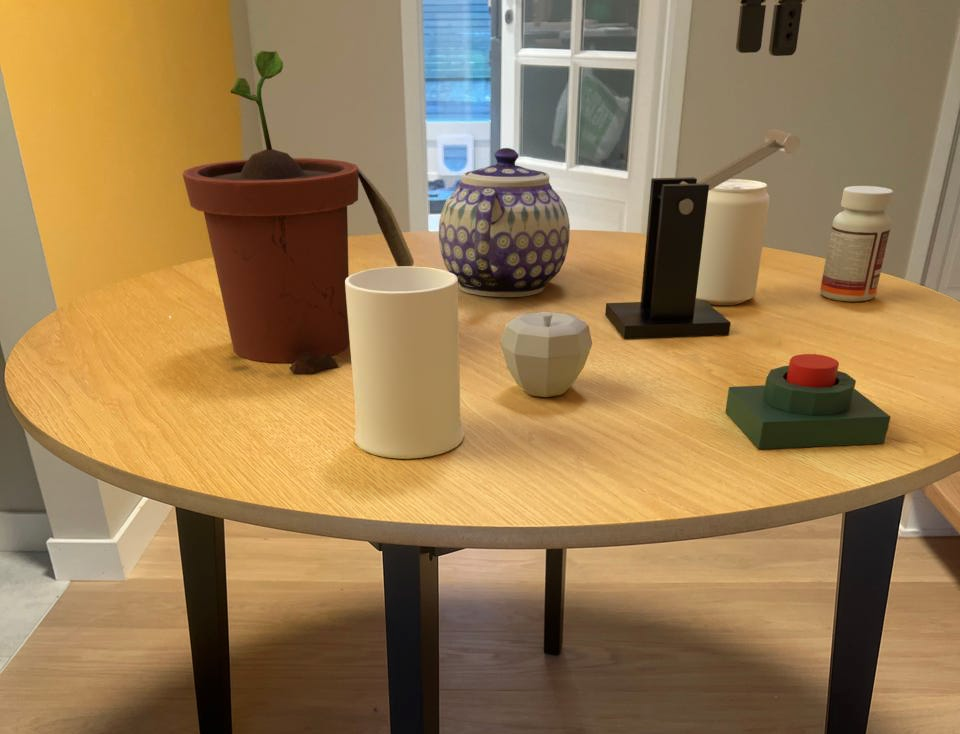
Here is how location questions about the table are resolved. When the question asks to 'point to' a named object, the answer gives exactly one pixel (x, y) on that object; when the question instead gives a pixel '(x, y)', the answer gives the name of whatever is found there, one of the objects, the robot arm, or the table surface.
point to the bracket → (671, 268)
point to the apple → (546, 351)
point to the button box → (805, 413)
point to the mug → (405, 360)
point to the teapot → (504, 230)
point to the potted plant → (285, 244)
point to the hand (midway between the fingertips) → (763, 53)
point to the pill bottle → (857, 244)
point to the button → (812, 370)
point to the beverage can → (732, 242)
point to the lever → (753, 157)
